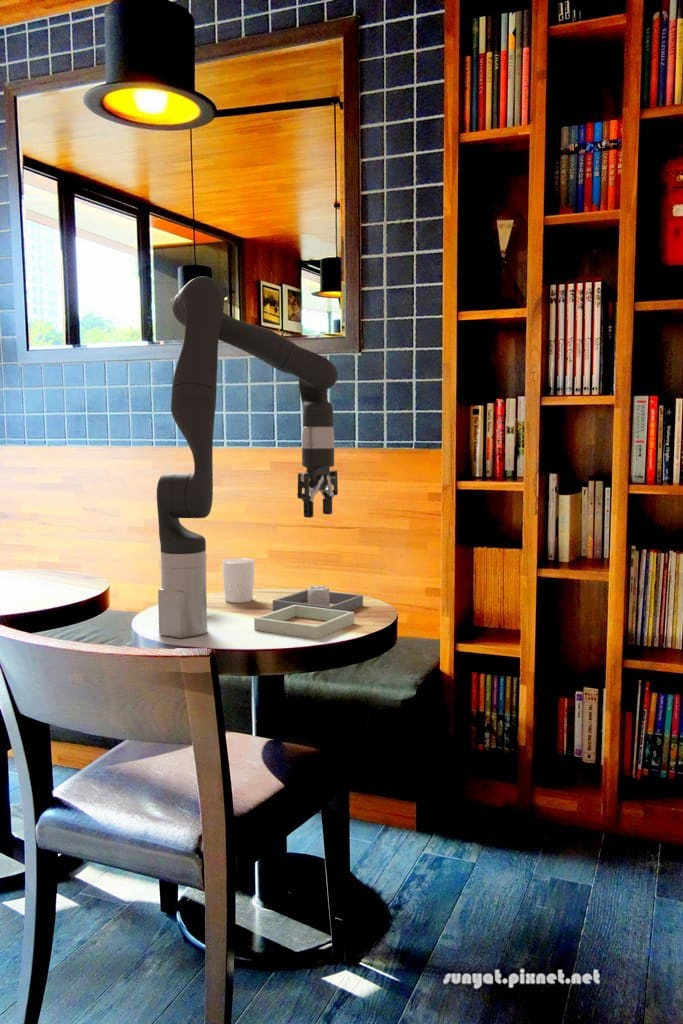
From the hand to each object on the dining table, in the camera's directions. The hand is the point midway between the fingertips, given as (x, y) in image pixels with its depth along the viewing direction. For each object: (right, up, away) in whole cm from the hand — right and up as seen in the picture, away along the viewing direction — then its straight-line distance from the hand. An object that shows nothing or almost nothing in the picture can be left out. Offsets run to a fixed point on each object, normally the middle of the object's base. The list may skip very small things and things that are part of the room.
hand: (318, 515), depth 193 cm
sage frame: (-2, -24, -16) cm, 29 cm away
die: (0, -22, +2) cm, 22 cm away
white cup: (-20, -21, +11) cm, 31 cm away
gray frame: (0, -22, +2) cm, 22 cm away
